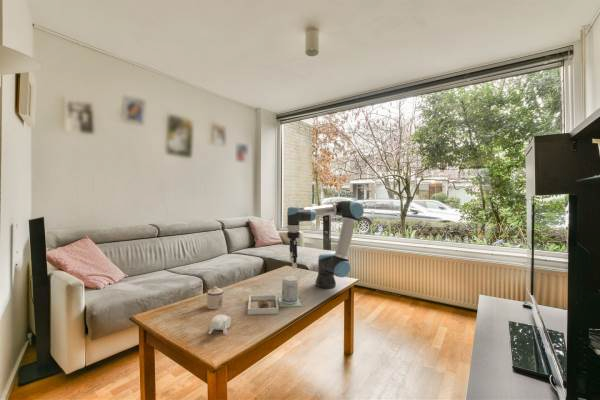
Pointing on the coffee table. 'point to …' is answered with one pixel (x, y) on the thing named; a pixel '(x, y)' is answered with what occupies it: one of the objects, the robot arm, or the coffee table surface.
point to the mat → (289, 304)
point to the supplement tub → (289, 289)
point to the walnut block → (263, 304)
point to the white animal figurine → (220, 323)
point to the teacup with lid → (215, 298)
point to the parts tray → (263, 310)
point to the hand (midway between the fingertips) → (293, 265)
